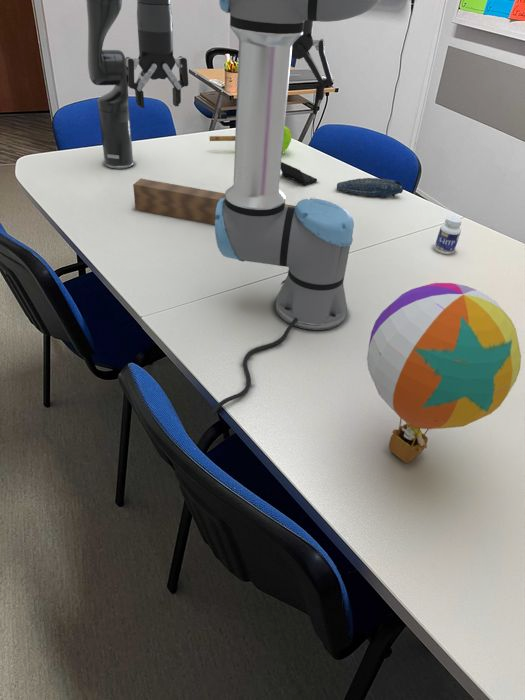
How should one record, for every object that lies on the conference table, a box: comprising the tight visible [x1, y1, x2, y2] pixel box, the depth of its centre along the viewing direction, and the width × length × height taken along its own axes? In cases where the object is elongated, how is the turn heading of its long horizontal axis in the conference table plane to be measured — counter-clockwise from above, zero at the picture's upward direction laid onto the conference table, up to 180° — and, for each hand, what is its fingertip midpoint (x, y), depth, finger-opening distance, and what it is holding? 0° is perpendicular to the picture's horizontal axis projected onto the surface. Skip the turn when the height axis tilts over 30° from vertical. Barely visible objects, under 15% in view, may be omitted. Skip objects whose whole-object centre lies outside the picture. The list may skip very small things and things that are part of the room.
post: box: [132, 178, 296, 226], centre depth 141 cm, size 53×5×7 cm, turn 75°
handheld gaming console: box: [280, 161, 318, 186], centre depth 171 cm, size 12×7×10 cm
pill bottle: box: [434, 215, 463, 255], centre depth 137 cm, size 5×5×9 cm
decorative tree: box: [209, 125, 292, 153], centre depth 187 cm, size 18×10×30 cm
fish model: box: [336, 177, 404, 198], centre depth 166 cm, size 7×21×5 cm, turn 84°
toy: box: [366, 282, 522, 464], centre depth 73 cm, size 20×20×30 cm
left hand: (158, 106), depth 124 cm, fingers open, 8 cm apart
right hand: (288, 110), depth 135 cm, fingers open, 13 cm apart
